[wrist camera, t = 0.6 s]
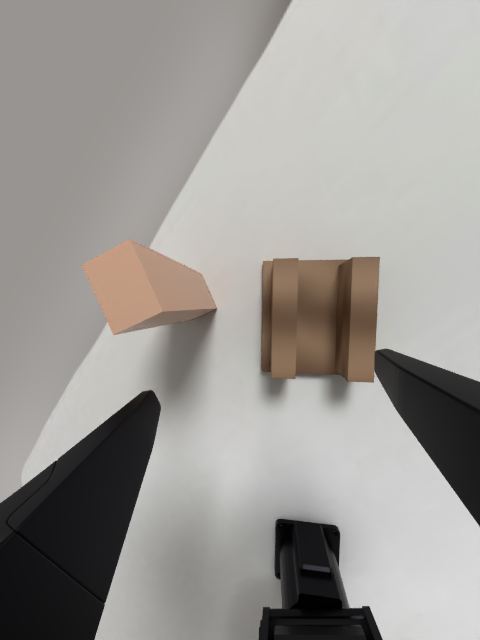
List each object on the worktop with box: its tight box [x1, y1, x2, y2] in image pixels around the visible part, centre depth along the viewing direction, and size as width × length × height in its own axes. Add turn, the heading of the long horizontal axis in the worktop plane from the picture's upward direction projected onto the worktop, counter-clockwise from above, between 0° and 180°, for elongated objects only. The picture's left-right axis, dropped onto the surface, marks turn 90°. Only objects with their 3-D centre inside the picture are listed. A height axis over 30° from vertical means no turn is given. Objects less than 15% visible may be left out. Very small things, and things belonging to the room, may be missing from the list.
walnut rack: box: [262, 257, 380, 383], centre depth 20 cm, size 11×10×4 cm
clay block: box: [82, 239, 217, 335], centre depth 18 cm, size 4×3×12 cm
